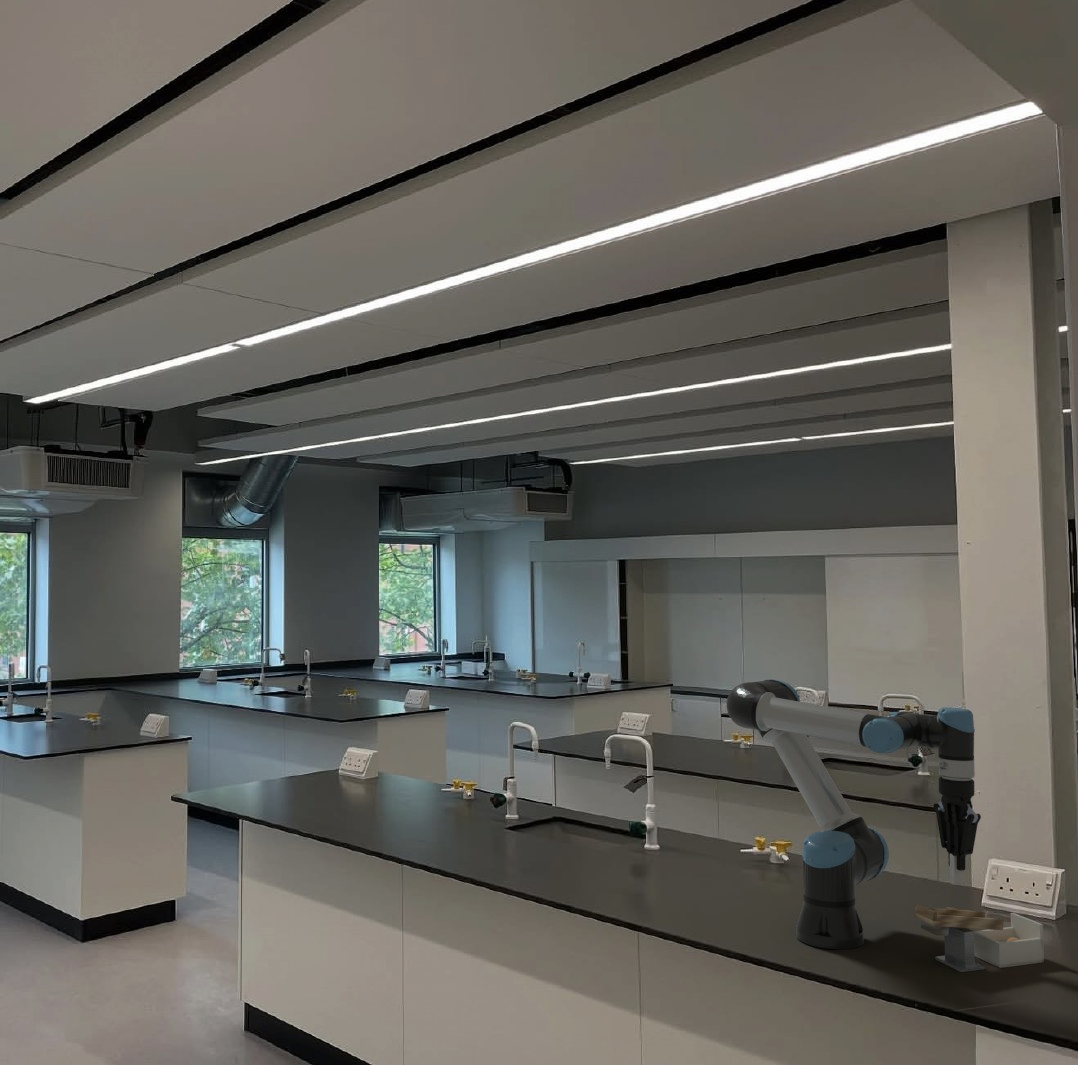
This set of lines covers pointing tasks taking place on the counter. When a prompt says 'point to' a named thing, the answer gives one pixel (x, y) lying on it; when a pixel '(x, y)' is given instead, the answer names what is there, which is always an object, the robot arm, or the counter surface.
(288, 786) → the counter surface
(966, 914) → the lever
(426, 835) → the counter surface
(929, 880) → the counter surface
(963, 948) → the fulcrum
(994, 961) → the grey open bin
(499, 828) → the counter surface
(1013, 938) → the ball
